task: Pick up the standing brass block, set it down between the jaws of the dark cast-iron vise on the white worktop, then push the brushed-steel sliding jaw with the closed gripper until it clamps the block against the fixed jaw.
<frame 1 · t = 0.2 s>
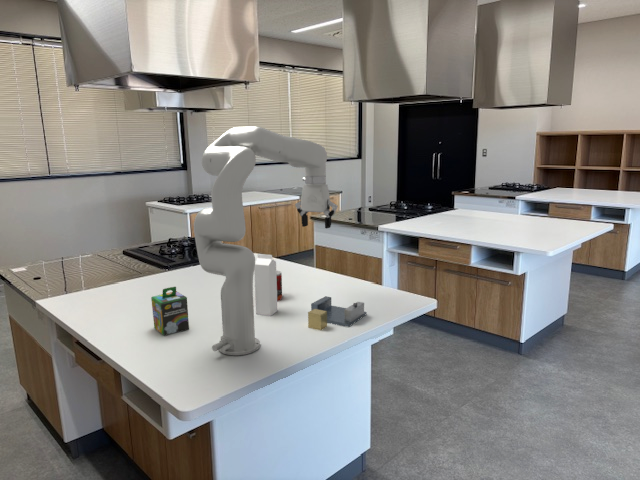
hand: (316, 227, 173), 31 cm above the counter, fingers open, 9 cm apart
brass block: (317, 327, 158), on the counter
milk: (266, 312, 173), on the counter
sliding jaw: (354, 310, 163), point 4 cm above the counter, slide at 0.0 cm
canned food: (272, 299, 188), on the counter
chalk box: (171, 329, 158), on the counter
vise: (337, 316, 167), on the counter
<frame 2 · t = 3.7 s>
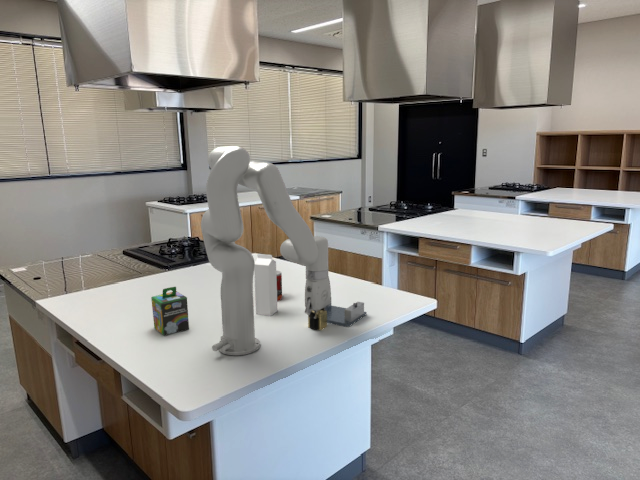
hand: (317, 326, 158), 0 cm above the counter, fingers closed on brass block, 4 cm apart
brass block: (317, 327, 158), on the counter, touching gripper
everything else where it was.
when the fingers open (2 cm above the counter, at t = 7.8 s): brass block stays where it is, resting on vise.
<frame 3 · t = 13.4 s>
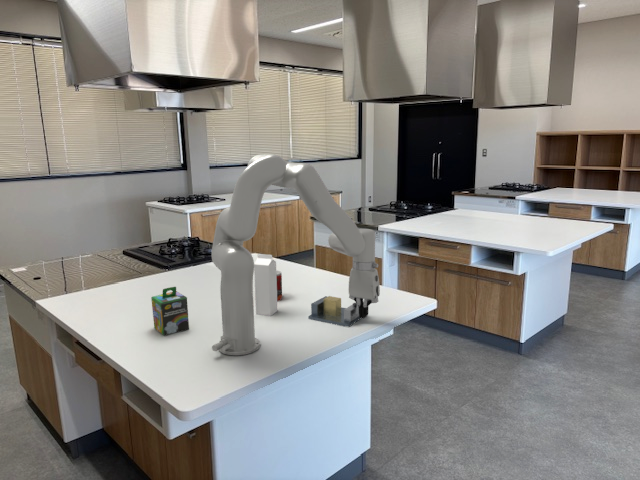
hand: (363, 316, 162), 2 cm above the counter, fingers closed
brass block: (332, 313, 168), point 1 cm above the counter, touching vise
sliding jaw: (354, 310, 163), point 4 cm above the counter, slide at 0.2 cm, touching gripper
everything else where it was.
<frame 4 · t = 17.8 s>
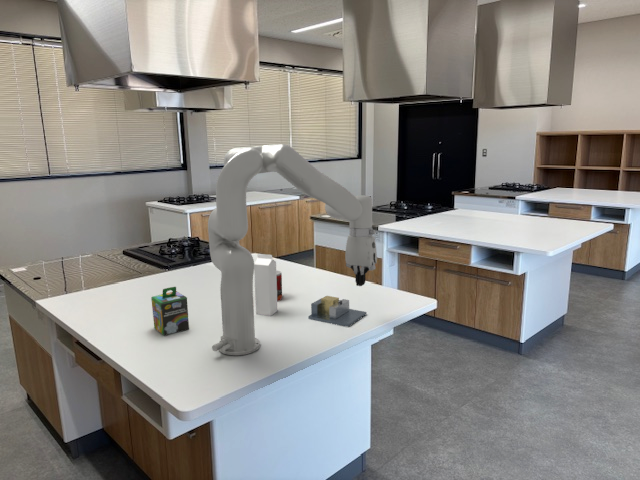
hand: (360, 284, 160), 13 cm above the counter, fingers closed
brass block: (330, 312, 168), point 1 cm above the counter, touching sliding jaw, vise
sliding jaw: (339, 307, 166), point 4 cm above the counter, slide at 6.0 cm, touching brass block
everything else where it was.
at the end: sliding jaw slide at 6.0 cm; brass block 0.5 cm from the target spot, point 1.0 cm above the counter; brass block tilted 0° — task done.
